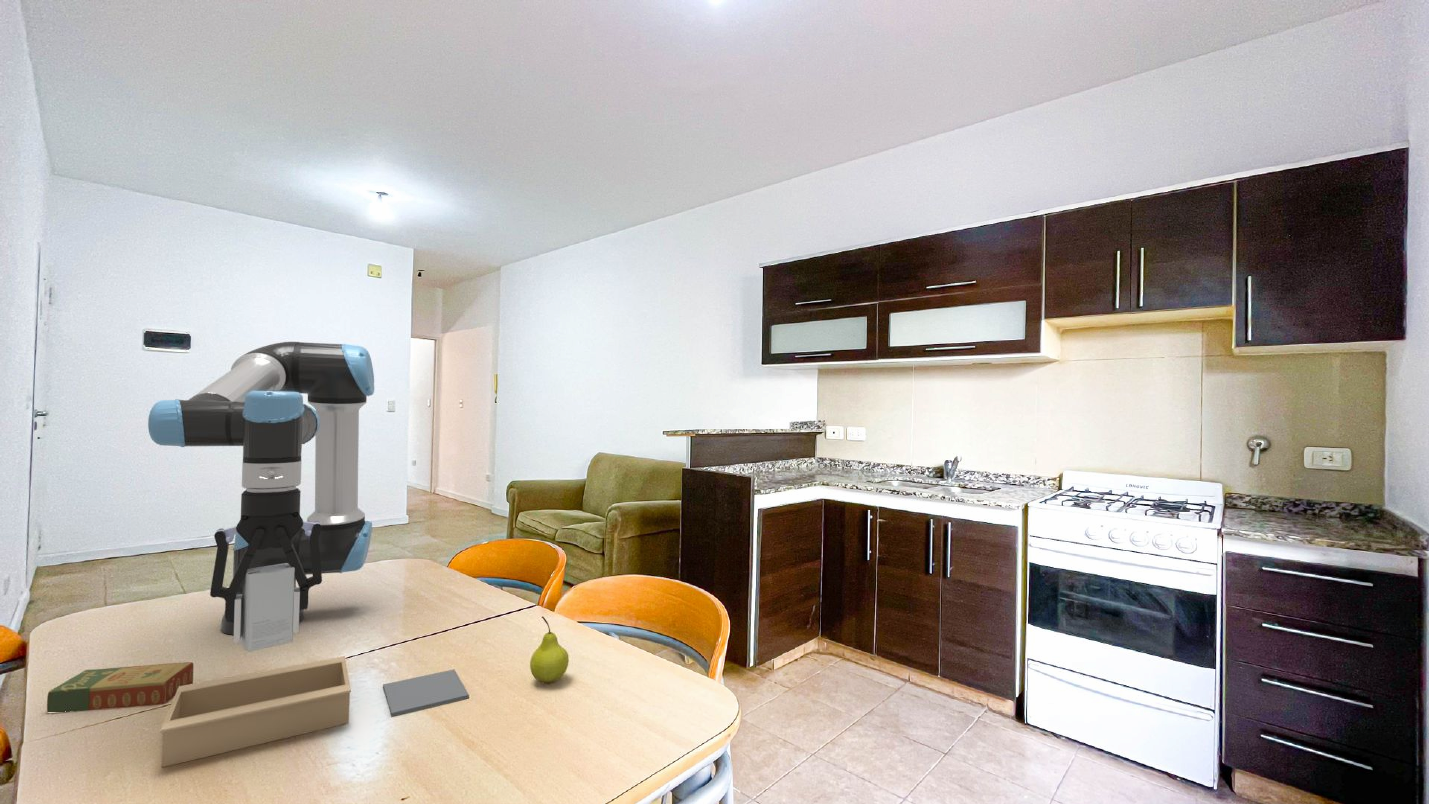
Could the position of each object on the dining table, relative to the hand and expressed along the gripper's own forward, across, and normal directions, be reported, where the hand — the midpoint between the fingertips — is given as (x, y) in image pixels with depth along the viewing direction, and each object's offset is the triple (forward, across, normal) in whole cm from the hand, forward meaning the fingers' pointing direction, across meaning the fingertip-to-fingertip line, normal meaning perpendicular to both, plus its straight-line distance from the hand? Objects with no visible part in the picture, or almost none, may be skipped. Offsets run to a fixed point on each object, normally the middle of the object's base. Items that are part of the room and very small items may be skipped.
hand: (267, 634), depth 95 cm
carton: (+15, -20, +23) cm, 34 cm away
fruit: (+15, +43, -8) cm, 46 cm away
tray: (+14, 0, 0) cm, 14 cm away
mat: (+14, +23, -1) cm, 27 cm away
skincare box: (+2, 0, 0) cm, 2 cm away
